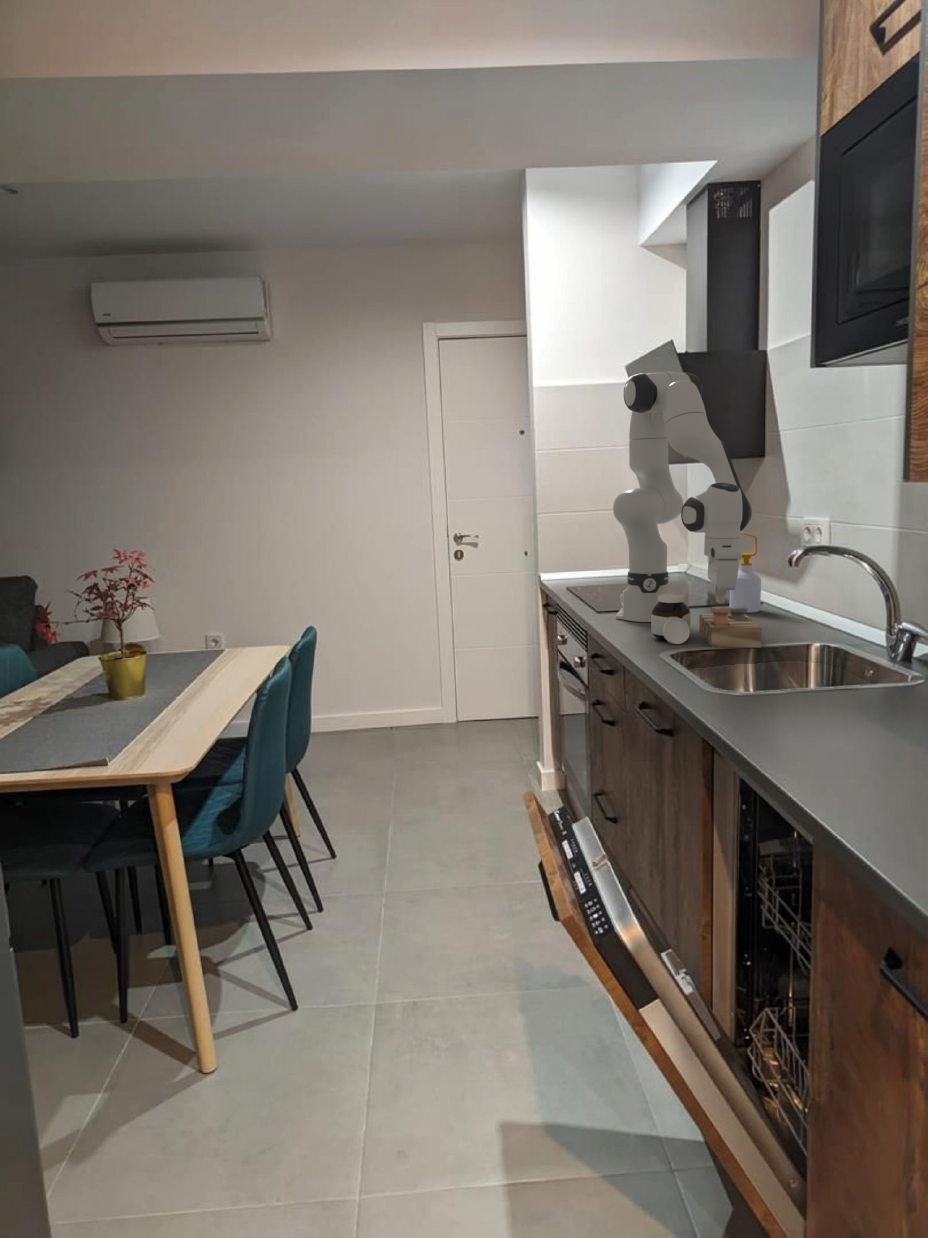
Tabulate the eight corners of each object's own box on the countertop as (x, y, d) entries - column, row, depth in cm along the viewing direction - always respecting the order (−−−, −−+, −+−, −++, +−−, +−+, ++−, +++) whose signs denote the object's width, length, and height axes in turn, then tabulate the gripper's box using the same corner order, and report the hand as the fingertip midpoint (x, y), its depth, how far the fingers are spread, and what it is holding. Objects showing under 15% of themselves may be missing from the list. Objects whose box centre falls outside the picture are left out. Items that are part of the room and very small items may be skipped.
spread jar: (672, 634, 230) (673, 592, 228) (705, 640, 221) (706, 596, 219) (641, 640, 223) (641, 597, 221) (673, 647, 214) (674, 601, 212)
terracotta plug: (709, 633, 219) (709, 606, 218) (728, 633, 219) (728, 606, 218) (712, 636, 215) (712, 609, 214) (731, 636, 214) (732, 609, 213)
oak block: (699, 632, 232) (699, 614, 231) (744, 631, 230) (744, 613, 229) (711, 647, 212) (712, 628, 211) (761, 647, 211) (761, 627, 210)
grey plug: (726, 632, 228) (726, 606, 227) (744, 631, 227) (745, 606, 226) (729, 635, 223) (730, 609, 222) (748, 635, 223) (749, 609, 221)
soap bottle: (728, 608, 268) (731, 530, 264) (759, 608, 266) (761, 530, 261) (729, 612, 260) (732, 532, 255) (761, 613, 257) (764, 532, 253)
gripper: (703, 544, 224) (701, 595, 226) (716, 553, 204) (714, 609, 206) (727, 543, 223) (725, 595, 226) (743, 553, 203) (740, 609, 206)
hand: (720, 602), depth 216 cm, fingers closed
